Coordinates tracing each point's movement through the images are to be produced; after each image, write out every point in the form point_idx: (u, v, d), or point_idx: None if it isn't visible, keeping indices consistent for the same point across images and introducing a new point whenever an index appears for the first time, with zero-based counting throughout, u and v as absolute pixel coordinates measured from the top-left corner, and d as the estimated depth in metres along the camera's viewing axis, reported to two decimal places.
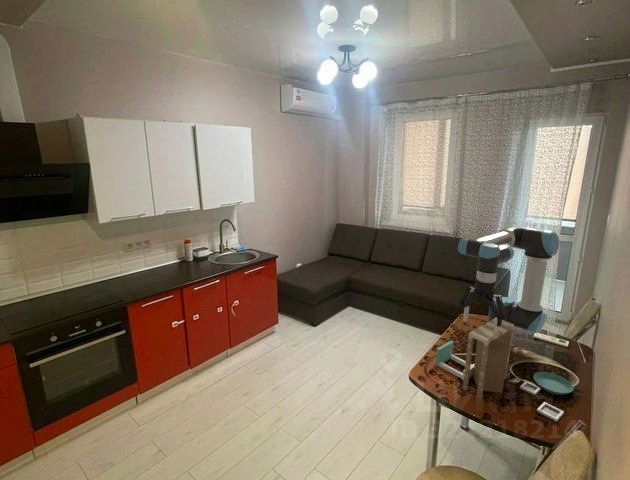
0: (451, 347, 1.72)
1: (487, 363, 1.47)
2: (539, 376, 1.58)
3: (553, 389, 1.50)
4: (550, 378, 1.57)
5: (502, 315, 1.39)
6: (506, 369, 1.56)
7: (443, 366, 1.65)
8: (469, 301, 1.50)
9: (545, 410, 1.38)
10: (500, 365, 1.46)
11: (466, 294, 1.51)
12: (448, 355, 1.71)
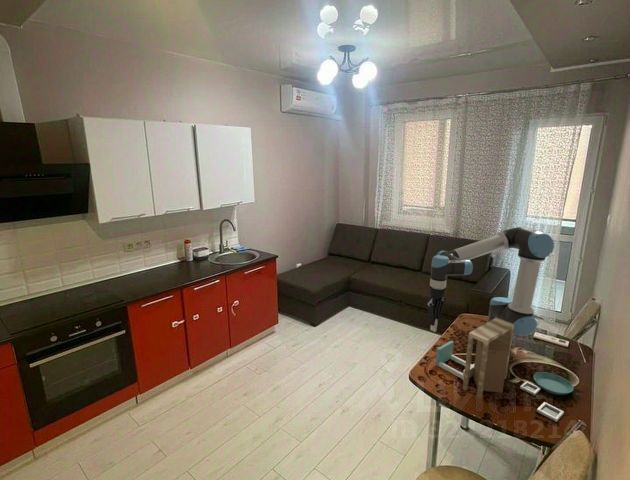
0: (451, 347, 1.72)
1: (487, 363, 1.47)
2: (539, 376, 1.58)
3: (553, 389, 1.50)
4: (550, 378, 1.57)
5: None
6: (506, 369, 1.56)
7: (443, 366, 1.65)
8: None
9: (545, 410, 1.38)
10: (500, 365, 1.46)
11: None
12: (448, 355, 1.71)
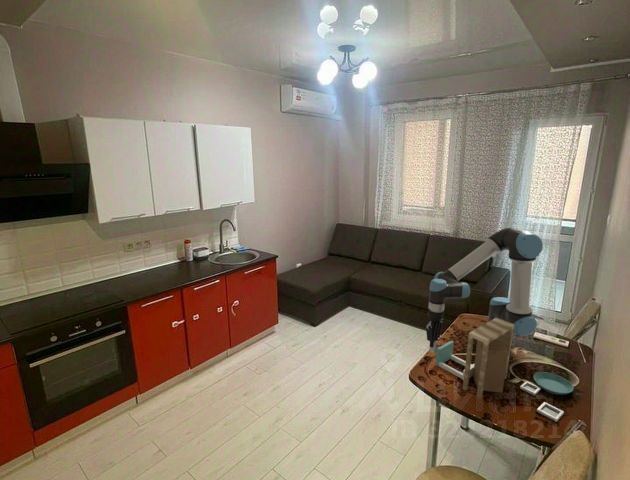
0: (451, 347, 1.72)
1: (487, 363, 1.47)
2: (539, 376, 1.58)
3: (553, 389, 1.50)
4: (550, 378, 1.57)
5: None
6: (506, 369, 1.56)
7: (443, 366, 1.65)
8: None
9: (545, 410, 1.38)
10: (499, 365, 1.46)
11: None
12: (448, 355, 1.71)
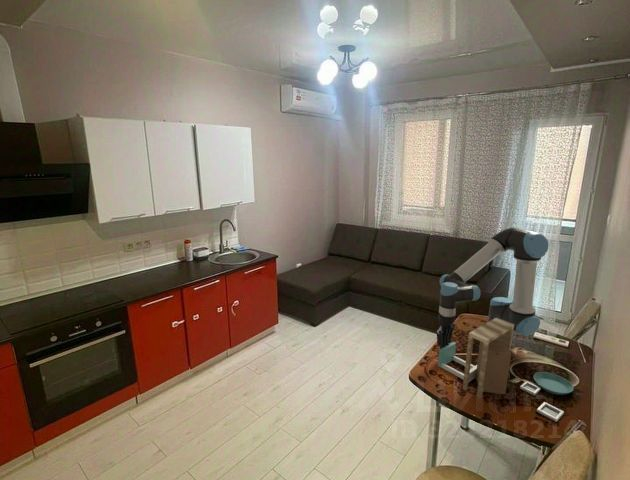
0: (454, 348, 1.71)
1: (490, 364, 1.46)
2: (539, 376, 1.58)
3: (553, 389, 1.50)
4: (550, 378, 1.57)
5: None
6: None
7: (446, 367, 1.64)
8: None
9: (545, 410, 1.38)
10: (502, 367, 1.45)
11: None
12: (451, 356, 1.70)
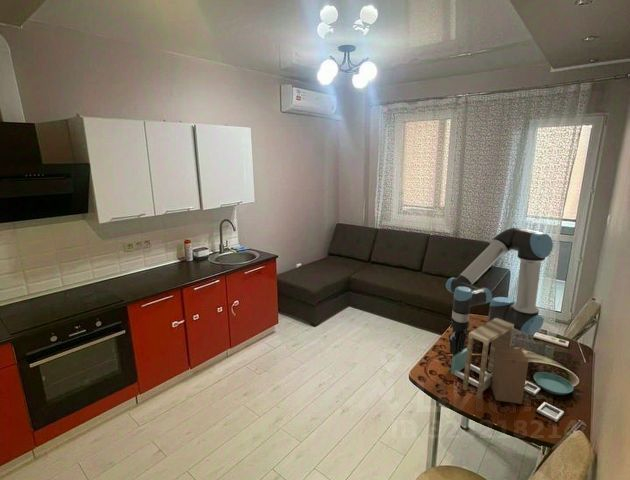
0: None
1: (506, 372, 1.40)
2: (539, 376, 1.58)
3: (553, 389, 1.50)
4: (550, 378, 1.57)
5: None
6: None
7: (459, 375, 1.58)
8: None
9: (545, 410, 1.38)
10: (519, 375, 1.39)
11: None
12: (464, 363, 1.65)
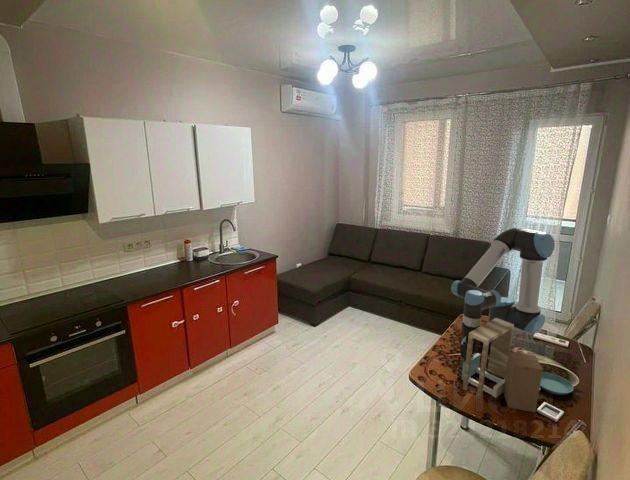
0: (478, 360, 1.61)
1: (518, 379, 1.36)
2: None
3: (553, 389, 1.50)
4: (550, 378, 1.57)
5: None
6: None
7: (470, 381, 1.54)
8: None
9: (545, 410, 1.38)
10: (533, 383, 1.34)
11: None
12: (475, 368, 1.61)
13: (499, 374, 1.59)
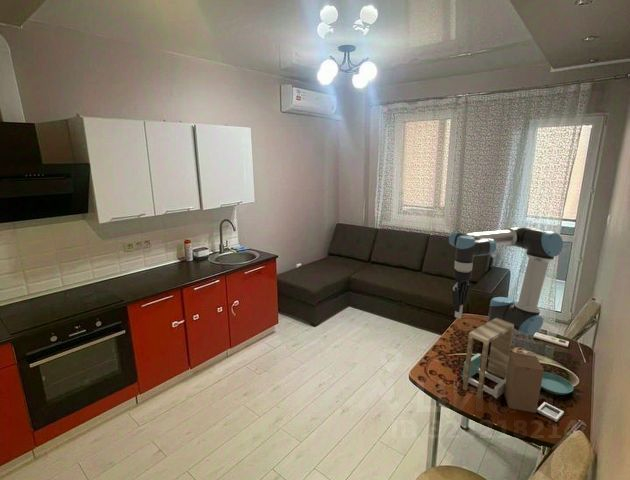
0: (478, 360, 1.60)
1: (519, 380, 1.36)
2: None
3: (553, 389, 1.50)
4: (550, 378, 1.57)
5: None
6: (506, 369, 1.56)
7: (471, 381, 1.54)
8: None
9: (545, 410, 1.38)
10: (533, 383, 1.34)
11: None
12: (475, 369, 1.60)
13: (499, 374, 1.59)
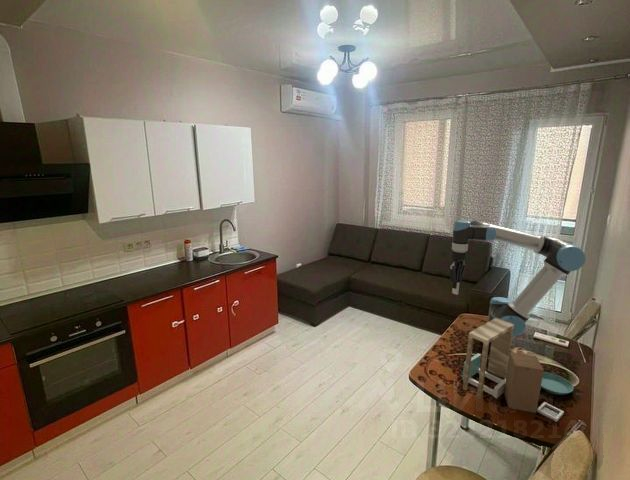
0: (478, 360, 1.60)
1: (519, 380, 1.36)
2: None
3: (553, 389, 1.50)
4: (550, 378, 1.57)
5: None
6: (506, 369, 1.56)
7: (471, 381, 1.54)
8: None
9: (545, 410, 1.38)
10: (533, 383, 1.34)
11: None
12: (475, 369, 1.60)
13: (499, 374, 1.59)
